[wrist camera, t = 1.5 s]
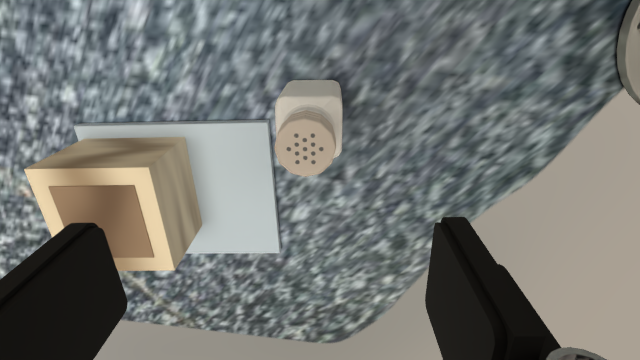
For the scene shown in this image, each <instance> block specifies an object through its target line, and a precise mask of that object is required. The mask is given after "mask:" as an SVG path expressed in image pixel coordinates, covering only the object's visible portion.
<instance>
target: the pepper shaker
mask: <svg viewBox="0 0 640 360" xmlns="http://www.w3.org/2000/svg"><path fill="white" fill-rule="evenodd" d="M275 121H276V136H277V138H276V143H275V147H274V149H275V152H276V155H277V158H278V161H279V163H280V164H281V165H282V166H283V167H285V168H286V169H287V170H288V171H289V172H290V173H292V174H297V175H301V176H305V177H307V176H311V175H316V174H320V173H322V172H323V171H324V170H325V169H326V168H327V167H328V166H329V165H330V164H331V163H332V161H333V159H334V158H336V157H338V156H339V154H340V153H341V151H342V96H341V88H340V86H339V83H338V82H336V81H334V80H293V81H290V82H288V83H287V85H286V86H285V88H284V89H283V91H282V92H281V94H280V96H279V97H278V99H277V102H276V104H275Z"/></svg>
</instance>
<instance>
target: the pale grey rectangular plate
mask: <svg viewBox="0 0 640 360" xmlns="http://www.w3.org/2000/svg"><path fill="white" fill-rule="evenodd" d="M74 128H75V131H76V134H77V137H78V140H79V141H81V140H83V139H94V138H149V137H185V140H186V145H187V150H188V155H189V160H190V165H191V170H192V175H193V180H194V185H195V190H196V195H197V200H198V205H199V210H200V215H201V220H202V227H201V228H200V230H199V232H198V233H197V235H196V236H195V238H194V240H193V241H192V243H191V245H190V246H189V248H188V249H187V251H186V253H280V249H281V244H280V233H279V222H278V212H277V201H276V190H275V179H274V168H273V157H272V147H271V136H270V125H269V120H229V121H179V122H129V123H80V124H78V125H76V126H74Z"/></svg>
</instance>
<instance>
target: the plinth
mask: <svg viewBox="0 0 640 360" xmlns="http://www.w3.org/2000/svg"><path fill="white" fill-rule="evenodd" d="M24 170H25V173H26V175H27V178H28V180H29V182H30V185H31V187H32V190H33V192H34V194H35V197H36V199H37V202H38V204H39V206H40V209H41V211H42V214H43V216H44V218H45V221H46V223H47V226H48V228H49V230H50V233H51V235H52V237H54V236H55V235H56V234H57V233H58V232H60V231H61V230H62V229H63V228H65V227H66V226H67V225H69V224H70V223H95V224H97V225H98V227H99V228H102V229H103V230H104V232H105V235H106V238H107V241H108V244H109V247H110V250H111V253H112V256H113V259H114V262H115V265H116V268H117V270H175V269H176V267H177V266H178V264H179V263H180V261H181V259H182V258H183V256H184V254H185V253H186V251H187V249H188V248H189V246H190V245H191V243H192V241H193V240H194V238H195V236H196V235H197V233H198V232H199V230H200V228H201V227H202V220H201V215H200V210H199V205H198V200H197V195H196V190H195V185H194V180H193V175H192V170H191V165H190V160H189V155H188V150H187V145H186V140H185V137H149V138H94V139H83V140H81V141H79V142H77V143H75V144H73V145H71V146H69V147H67V148H65V149H63V150H61V151H59V152H57V153H55V154H53V155H51V156H49V157H47V158H45V159H43V160H41V161H39V162H37V163H35V164H33V165H31V166H29V167H28V168H26V169H24Z"/></svg>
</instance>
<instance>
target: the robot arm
mask: <svg viewBox="0 0 640 360" xmlns="http://www.w3.org/2000/svg"><path fill="white" fill-rule="evenodd" d="M617 67H618V71H619V74H620V78H621V82H622V83H623V85H624V87H625V89H626V90H627V92H628V94H629V95H630V96H631V97H632V98H633V99H634V100H635V101H636V102H637V103H638V104H639V105H640V0H632V2H631V4H630V6H629V8H628V9H627V12H626V15H625V17H624V20H623V23H622V26H621V29H620V33H619V39H618V45H617ZM425 301H426V309H427V313H428V315H429V319H430V322H431V324H432V327H433V330H434V334H435V336H436V339H437V342H438V345H439V348H440V351H441V354H442V357H443V360H607V359H604V358H603V357H601V356H599V355H597V354H595V353H592V352H589V351H586V350H583V349H578V348H571V347H567V348H561V347H560V345H559V344H558V342H557V341H556V339H555V338H554V337H553V335H552V334H551V333H550V331H549V330H548V328H547V327H546V325H545V324H544V322H543V321H542V320H541V318H540V317H539V315H538V314H537V313H536V311H535V309H534V308H533V307H532V305H531V304H530V302H529V301H528V299H527V298H526V297H525V295H524V294H523V292H522V291H521V289H520V288H519V287H518V285H517V284H516V282H515V281H514V280H513V278H512V277H511V275H510V274H509V272H508V271H507V270H506V268H505V267H504V266H502V265H500V264H497V263H496V261H495V260H494V259H493V257H492V256H491V254H490V253H489V251H488V250H487V248H486V247H485V245H484V244H483V242H482V241H481V240H480V238H479V236H478V235H477V234H476V232H475V230H474V229H473V228H472V226H471V225H470V223H469V222H468V220H467V219H466V218H465V217H443V218H442V220H441V223H435V226H434V233H433V241H432V249H431V257H430V265H429V274H428V281H427V289H426V299H425ZM126 309H127V298H126V295H125V292H124V289H123V286H122V283H121V280H120V277H119V274H118V271H117V268H116V265H115V262H114V259H113V256H112V253H111V250H110V247H109V244H108V241H107V238H106V235H105V232H104V230H103V229H102V228H99V227H98V225H97V224H95V223H70V224H69V225H67V226H66V227H65V228H63V229H62V230H61V231H60V232H58V233H57V234H56V235H55V236H54V237H52V238H51V239H50V240H49V241H47V242H46V243H45V244H44V245H42V246H41V247H40V248H39V249H38V250H36V251H35V252H34V253H33V254H31V255H30V256H29V257H28V258H27V259H25V260H24V261H23V262H22V263H20V264H19V265H18V266H17V267H15V268H14V269H13V270H12V271H11V272H9V273H8V274H7V275H6V276H4V277H3V278H2V279H1V280H0V360H93V359H94V358H95V356H96V355H97V353H98V352H99V350H100V349H101V347H102V346H103V344H104V343H105V341H106V340H107V338H108V337H109V336H110V334H111V332H112V331H113V329H114V328H115V326H116V325H117V324H118V322H119V321H120V319H121V318H122V316H123V315H124V313H125V311H126Z"/></svg>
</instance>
